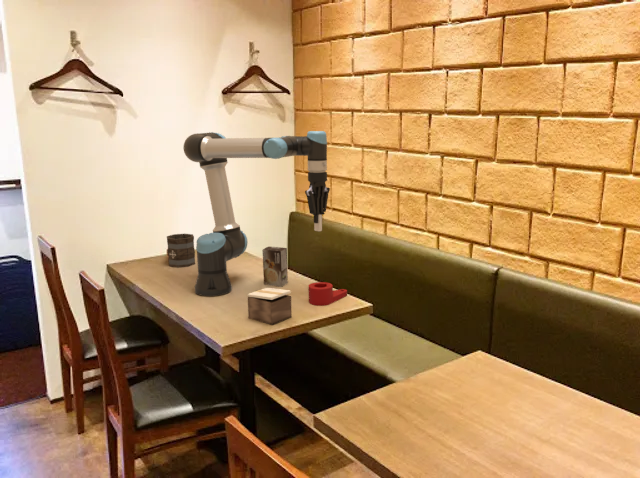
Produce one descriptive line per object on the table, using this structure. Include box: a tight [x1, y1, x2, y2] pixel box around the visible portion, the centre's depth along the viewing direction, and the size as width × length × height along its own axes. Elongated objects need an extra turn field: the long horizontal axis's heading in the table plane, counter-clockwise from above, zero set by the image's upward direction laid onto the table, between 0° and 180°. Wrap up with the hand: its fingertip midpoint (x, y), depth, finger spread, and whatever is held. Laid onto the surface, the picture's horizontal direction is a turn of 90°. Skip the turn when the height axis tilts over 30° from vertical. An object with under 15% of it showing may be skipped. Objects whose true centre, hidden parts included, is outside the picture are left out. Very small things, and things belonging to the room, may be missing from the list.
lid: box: [247, 287, 292, 300], centre depth 203 cm, size 12×10×1 cm
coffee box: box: [262, 246, 289, 288], centre depth 243 cm, size 9×6×16 cm
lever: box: [308, 281, 348, 307], centre depth 224 cm, size 18×9×7 cm, turn 129°
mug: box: [166, 233, 196, 269], centre depth 276 cm, size 20×14×15 cm
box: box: [247, 294, 293, 326], centre depth 204 cm, size 12×10×8 cm
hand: (318, 230), depth 225 cm, fingers closed
